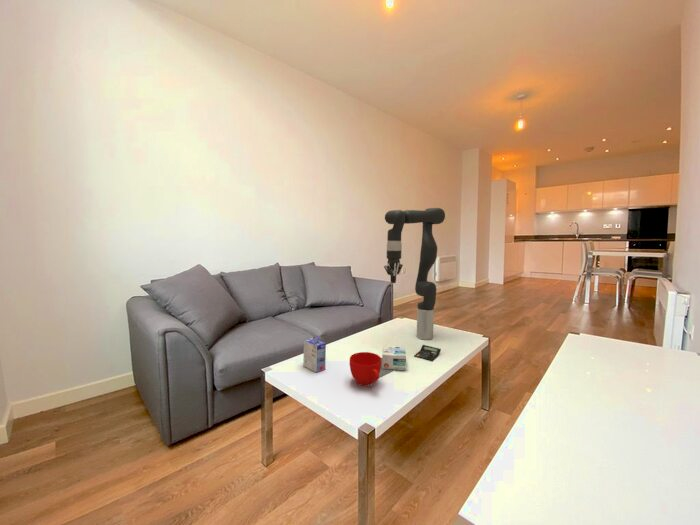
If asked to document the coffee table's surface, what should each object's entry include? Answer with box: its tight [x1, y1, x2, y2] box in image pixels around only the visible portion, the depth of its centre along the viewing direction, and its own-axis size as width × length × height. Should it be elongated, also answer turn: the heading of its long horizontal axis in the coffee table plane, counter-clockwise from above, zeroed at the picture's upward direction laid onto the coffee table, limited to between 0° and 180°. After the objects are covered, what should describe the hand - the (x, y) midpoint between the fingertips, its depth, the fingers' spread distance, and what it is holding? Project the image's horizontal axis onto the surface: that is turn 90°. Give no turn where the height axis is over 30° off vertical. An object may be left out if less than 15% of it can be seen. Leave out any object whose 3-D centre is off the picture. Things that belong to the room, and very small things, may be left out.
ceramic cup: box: [349, 351, 382, 387], centre depth 119 cm, size 13×17×10 cm
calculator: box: [413, 344, 442, 362], centre depth 148 cm, size 9×12×3 cm
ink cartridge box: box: [303, 334, 327, 373], centre depth 132 cm, size 10×6×14 cm, turn 46°
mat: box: [349, 357, 397, 379], centre depth 136 cm, size 16×18×1 cm
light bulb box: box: [381, 345, 407, 371], centre depth 136 cm, size 11×7×11 cm
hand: (393, 282), depth 153 cm, fingers closed
